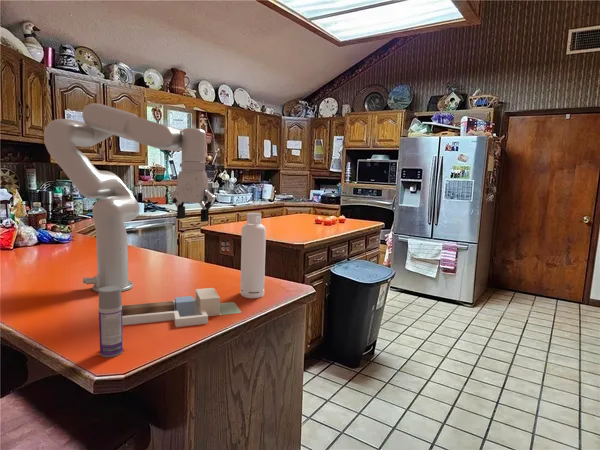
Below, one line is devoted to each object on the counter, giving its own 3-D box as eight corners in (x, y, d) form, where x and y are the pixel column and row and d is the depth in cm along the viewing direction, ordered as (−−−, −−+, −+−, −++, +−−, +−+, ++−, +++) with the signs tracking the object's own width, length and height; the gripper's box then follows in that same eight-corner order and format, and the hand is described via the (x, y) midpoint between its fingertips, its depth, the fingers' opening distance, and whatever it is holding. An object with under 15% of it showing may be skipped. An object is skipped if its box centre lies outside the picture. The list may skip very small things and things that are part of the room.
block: (176, 316, 111) (176, 302, 110) (174, 310, 115) (174, 297, 115) (194, 314, 112) (194, 301, 112) (192, 308, 117) (192, 295, 116)
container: (105, 348, 91) (103, 285, 89) (126, 348, 91) (124, 285, 89) (96, 357, 86) (94, 291, 84) (118, 357, 86) (116, 292, 84)
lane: (118, 334, 98) (117, 313, 97) (120, 314, 112) (119, 295, 111) (246, 320, 111) (246, 301, 110) (234, 303, 124) (234, 286, 124)
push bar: (120, 320, 106) (120, 309, 105) (120, 316, 109) (120, 305, 108) (174, 315, 111) (174, 304, 111) (173, 311, 114) (173, 301, 114)
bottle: (254, 299, 128) (256, 215, 125) (235, 295, 133) (236, 213, 129) (268, 293, 135) (271, 213, 132) (250, 289, 140) (252, 211, 136)
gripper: (164, 166, 127) (164, 218, 129) (207, 168, 120) (206, 223, 122) (180, 166, 134) (179, 216, 136) (222, 169, 127) (220, 221, 129)
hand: (192, 219), depth 129 cm, fingers open, 9 cm apart
